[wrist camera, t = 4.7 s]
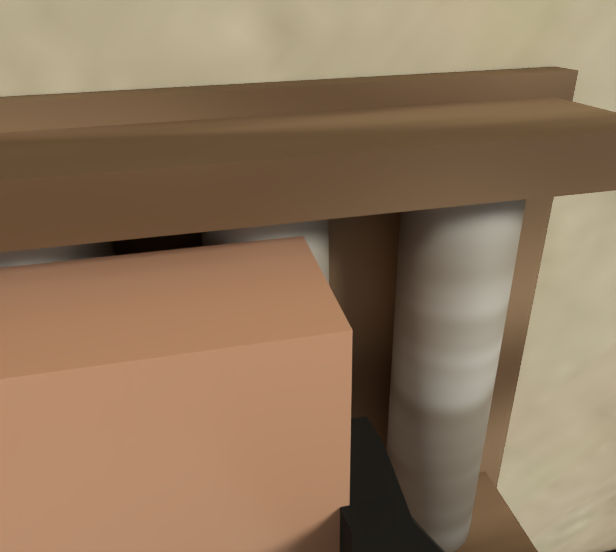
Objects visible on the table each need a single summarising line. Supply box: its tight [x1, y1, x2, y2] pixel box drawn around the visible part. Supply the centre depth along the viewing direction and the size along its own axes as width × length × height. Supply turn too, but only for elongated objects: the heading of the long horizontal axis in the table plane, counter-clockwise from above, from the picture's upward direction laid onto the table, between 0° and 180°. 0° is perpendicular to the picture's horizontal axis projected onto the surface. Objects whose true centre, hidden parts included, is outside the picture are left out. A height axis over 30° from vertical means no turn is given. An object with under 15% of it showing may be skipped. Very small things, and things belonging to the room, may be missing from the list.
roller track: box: [0, 67, 616, 552], centre depth 10 cm, size 13×18×7 cm
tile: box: [0, 236, 353, 552], centre depth 9 cm, size 9×10×3 cm
